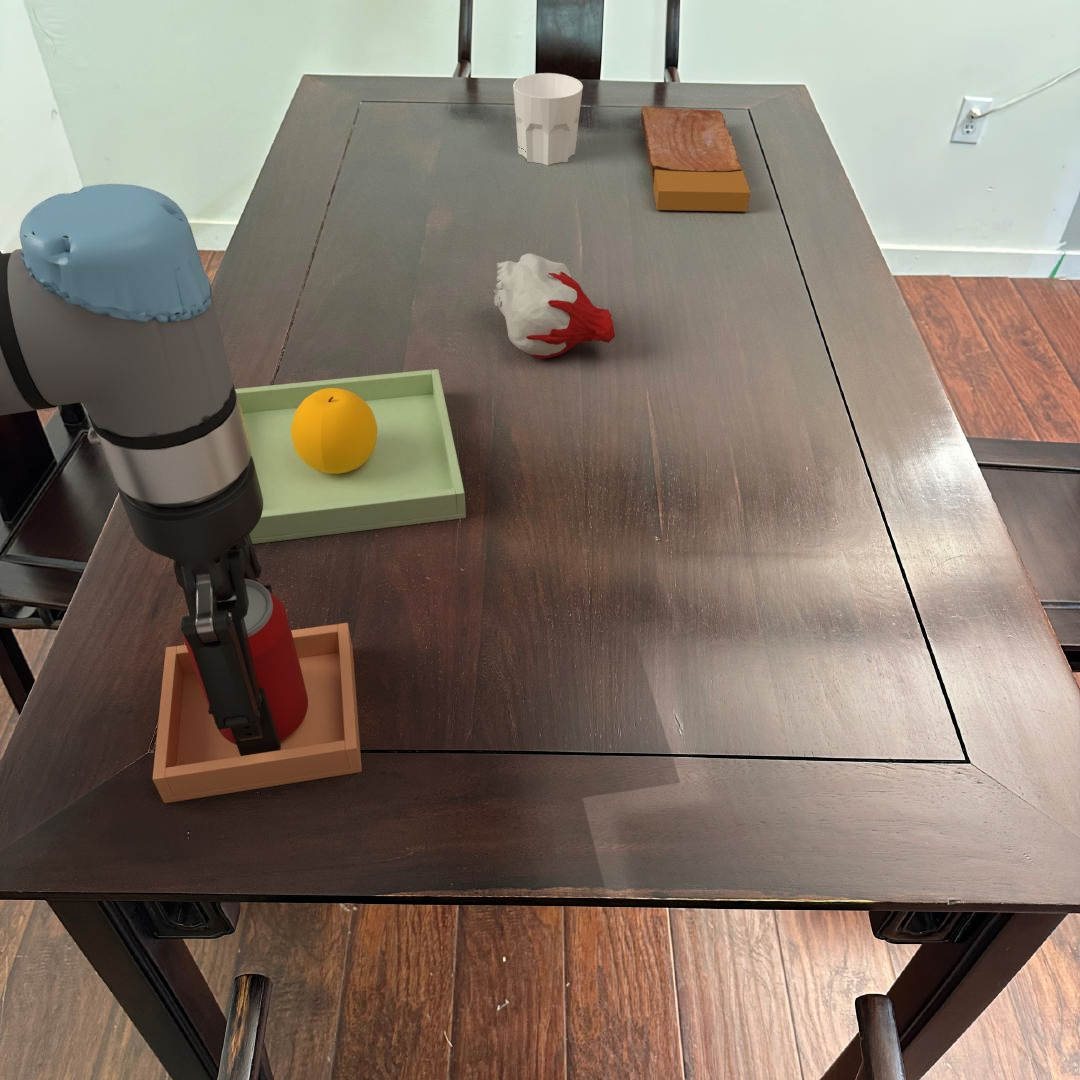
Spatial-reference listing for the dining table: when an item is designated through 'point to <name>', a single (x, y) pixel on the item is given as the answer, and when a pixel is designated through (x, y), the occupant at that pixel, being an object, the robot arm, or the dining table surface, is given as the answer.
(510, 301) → the candle
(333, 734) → the drink tray
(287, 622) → the beverage can
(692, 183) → the wooden board
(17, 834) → the dining table surface
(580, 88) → the cup
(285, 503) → the fruit tray
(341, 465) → the orange
